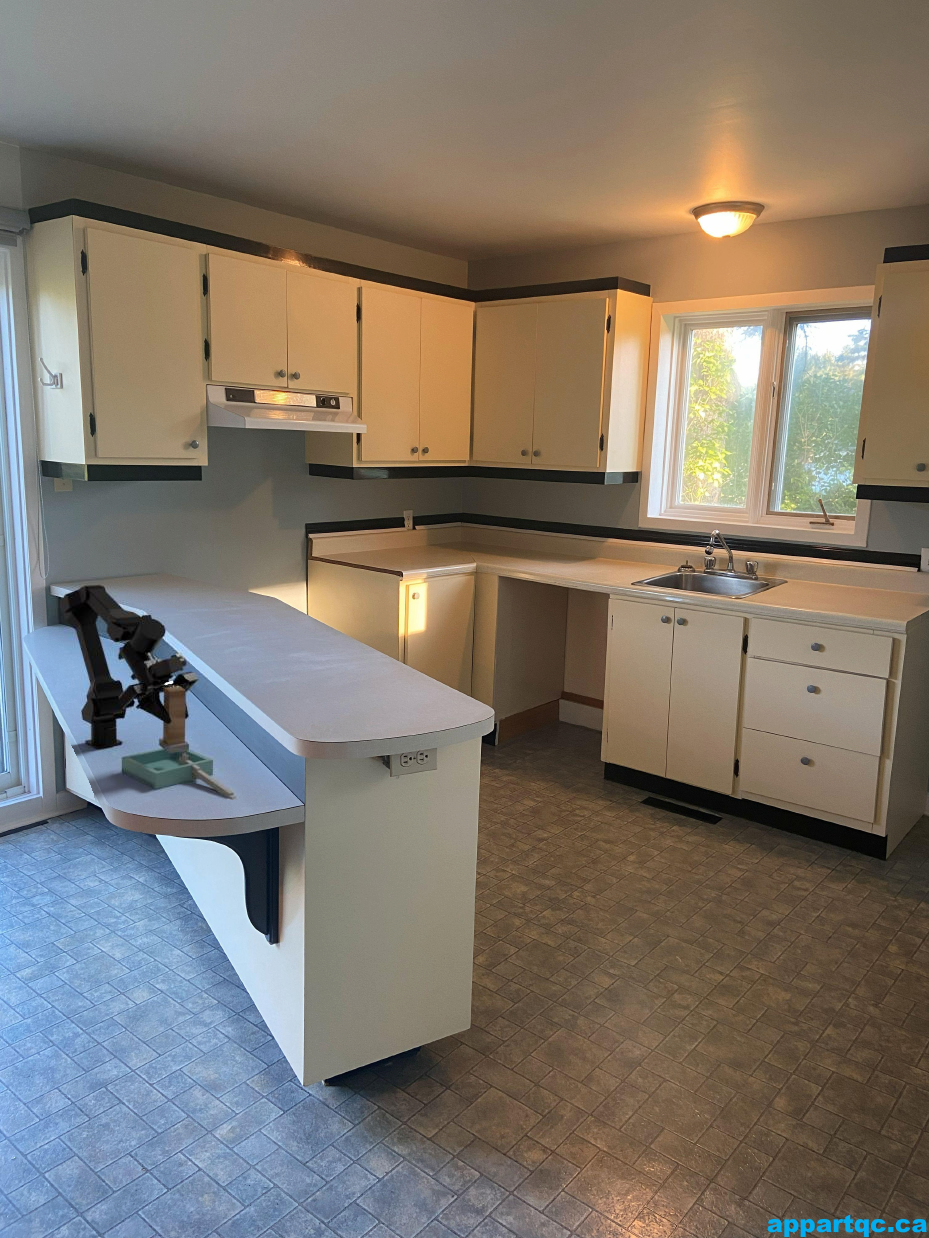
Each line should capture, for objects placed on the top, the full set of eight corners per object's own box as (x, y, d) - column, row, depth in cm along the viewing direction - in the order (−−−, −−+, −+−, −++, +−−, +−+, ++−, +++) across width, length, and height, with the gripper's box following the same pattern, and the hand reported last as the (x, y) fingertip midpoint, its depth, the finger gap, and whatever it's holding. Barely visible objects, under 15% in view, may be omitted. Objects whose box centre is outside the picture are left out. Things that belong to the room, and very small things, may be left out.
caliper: (177, 779, 198) (177, 752, 197) (182, 778, 199) (181, 751, 198) (232, 801, 185) (232, 772, 184) (237, 799, 186) (237, 771, 185)
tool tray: (121, 772, 197) (121, 757, 196) (177, 759, 207) (177, 744, 207) (156, 789, 188) (156, 773, 187) (212, 774, 198) (213, 759, 198)
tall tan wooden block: (159, 745, 199) (159, 686, 196) (178, 742, 201) (179, 684, 199) (169, 753, 194) (170, 693, 191) (188, 750, 196) (190, 691, 194)
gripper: (128, 649, 187) (165, 708, 184) (193, 637, 204) (228, 691, 200) (102, 678, 192) (138, 737, 189) (167, 664, 208) (201, 718, 205)
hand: (178, 720), depth 196 cm, fingers closed on tall tan wooden block, 5 cm apart
